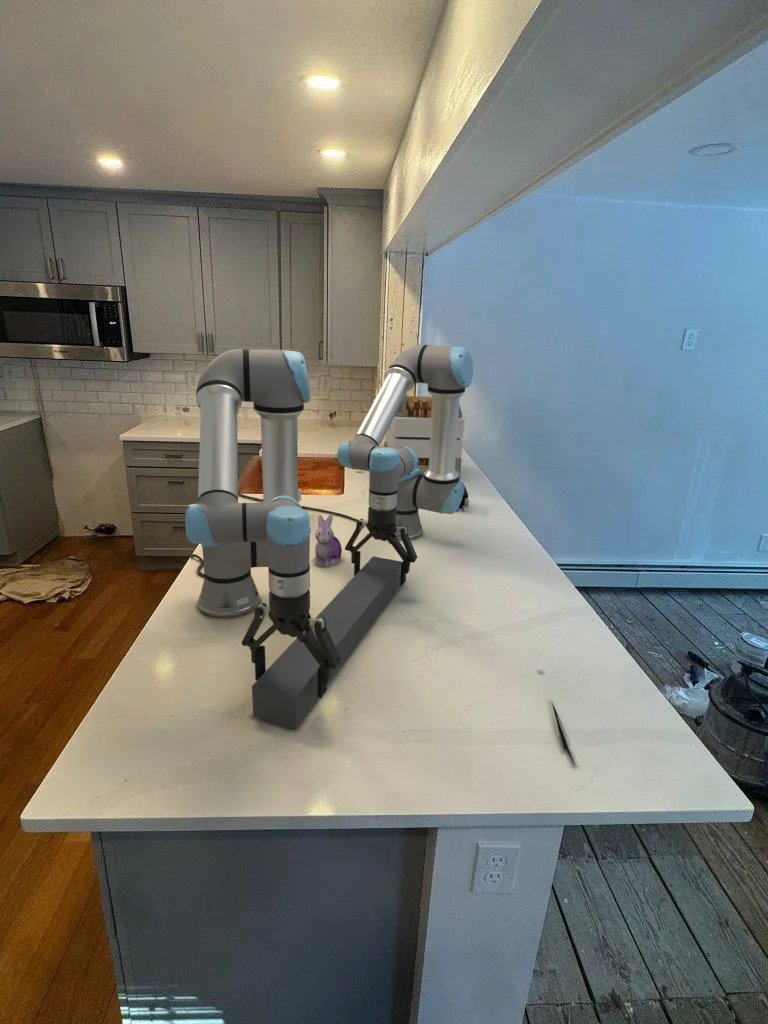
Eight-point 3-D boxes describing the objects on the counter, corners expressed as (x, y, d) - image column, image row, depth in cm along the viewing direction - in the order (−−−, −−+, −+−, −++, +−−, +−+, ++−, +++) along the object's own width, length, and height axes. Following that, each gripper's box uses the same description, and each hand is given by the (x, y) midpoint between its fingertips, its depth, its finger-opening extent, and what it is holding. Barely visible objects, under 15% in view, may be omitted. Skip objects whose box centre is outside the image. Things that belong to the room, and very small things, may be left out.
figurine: (319, 569, 170) (319, 523, 165) (307, 556, 178) (307, 511, 173) (348, 564, 174) (349, 519, 169) (335, 552, 182) (336, 508, 177)
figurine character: (468, 516, 224) (463, 500, 237) (471, 498, 221) (465, 483, 234) (452, 515, 224) (447, 499, 237) (453, 498, 220) (449, 482, 234)
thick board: (372, 578, 166) (373, 556, 164) (401, 584, 164) (403, 561, 161) (253, 716, 109) (251, 685, 106) (295, 729, 106) (295, 698, 103)
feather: (541, 676, 126) (546, 670, 126) (574, 768, 100) (581, 761, 99) (535, 672, 126) (540, 666, 126) (566, 764, 100) (573, 756, 99)
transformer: (382, 463, 289) (386, 382, 275) (445, 464, 293) (451, 384, 279) (390, 482, 257) (394, 392, 243) (460, 483, 261) (468, 394, 247)
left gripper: (219, 585, 105) (225, 680, 112) (343, 613, 98) (341, 713, 105) (242, 568, 112) (246, 659, 119) (359, 594, 104) (356, 689, 112)
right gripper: (333, 504, 151) (333, 575, 158) (424, 518, 143) (419, 593, 151) (344, 496, 157) (343, 565, 165) (431, 509, 150) (426, 581, 157)
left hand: (290, 685), depth 112 cm, fingers open, 13 cm apart
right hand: (379, 578), depth 158 cm, fingers open, 13 cm apart
